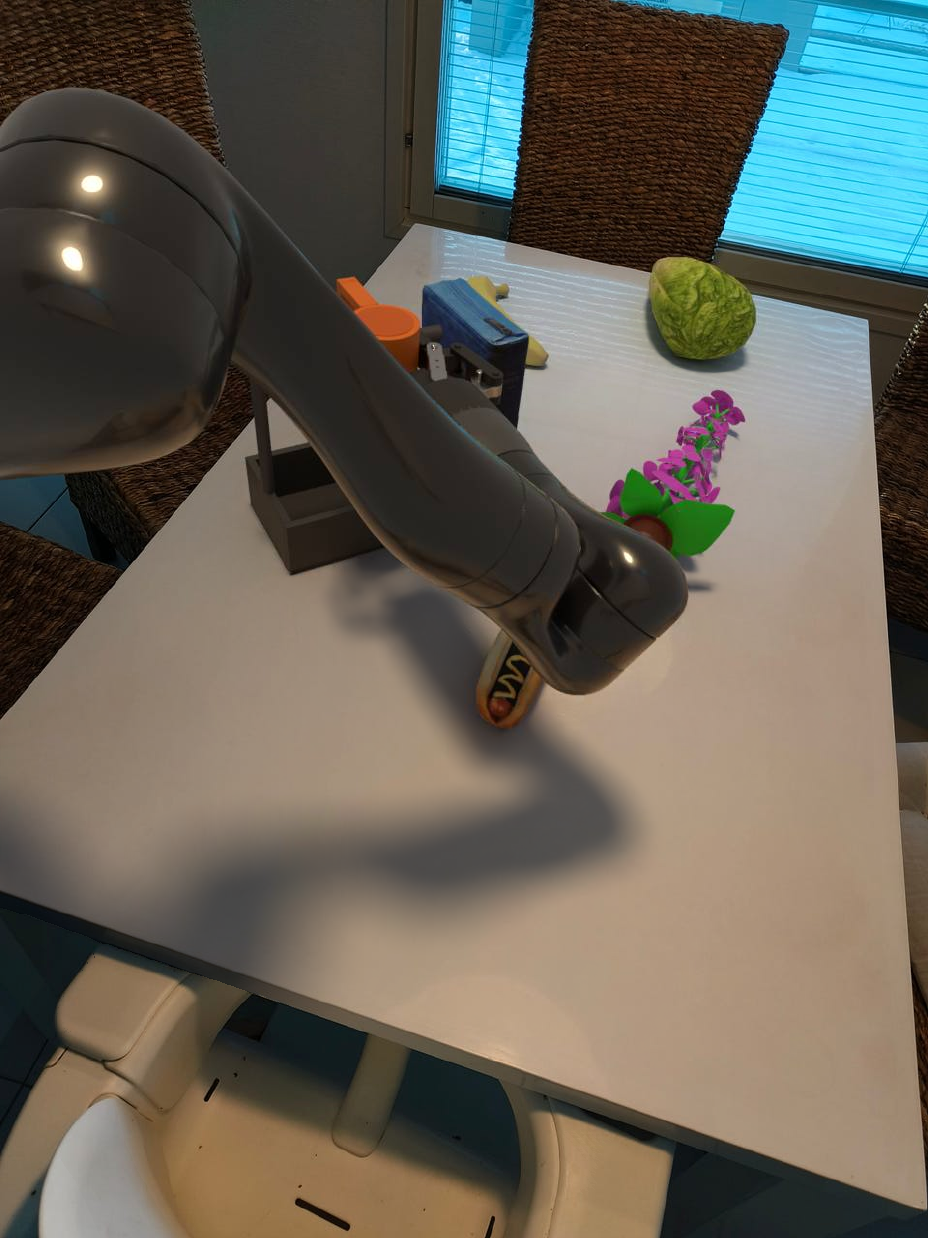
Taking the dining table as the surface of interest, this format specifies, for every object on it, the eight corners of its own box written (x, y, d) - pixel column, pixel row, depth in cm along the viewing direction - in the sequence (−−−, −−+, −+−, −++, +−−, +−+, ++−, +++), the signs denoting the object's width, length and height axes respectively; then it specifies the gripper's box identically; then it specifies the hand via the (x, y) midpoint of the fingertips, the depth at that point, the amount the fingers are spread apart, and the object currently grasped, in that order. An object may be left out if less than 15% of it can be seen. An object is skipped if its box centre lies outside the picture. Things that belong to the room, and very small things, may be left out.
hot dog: (460, 729, 71) (466, 692, 68) (509, 622, 80) (516, 585, 76) (517, 749, 70) (525, 712, 67) (560, 639, 79) (569, 602, 75)
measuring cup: (426, 431, 72) (432, 331, 65) (365, 445, 70) (365, 344, 63) (375, 368, 78) (376, 272, 71) (317, 380, 76) (313, 281, 69)
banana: (456, 301, 107) (475, 254, 122) (442, 341, 110) (462, 290, 126) (555, 344, 109) (562, 292, 124) (538, 382, 112) (546, 327, 127)
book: (516, 504, 92) (544, 333, 77) (474, 518, 90) (495, 345, 75) (450, 433, 100) (464, 266, 85) (410, 444, 98) (418, 274, 83)
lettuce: (719, 256, 128) (666, 202, 121) (785, 329, 111) (728, 270, 104) (659, 318, 134) (606, 269, 127) (713, 396, 116) (654, 344, 110)
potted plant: (576, 610, 87) (664, 457, 112) (739, 600, 78) (796, 436, 103) (539, 504, 81) (640, 368, 106) (710, 481, 72) (777, 338, 97)
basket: (288, 575, 82) (272, 398, 67) (248, 504, 88) (226, 328, 74) (453, 527, 89) (470, 356, 74) (404, 464, 95) (411, 296, 81)
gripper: (562, 390, 60) (450, 283, 70) (375, 433, 54) (282, 311, 64) (545, 475, 65) (444, 365, 75) (374, 522, 60) (289, 397, 70)
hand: (370, 341), depth 70 cm, fingers closed on measuring cup, 5 cm apart
